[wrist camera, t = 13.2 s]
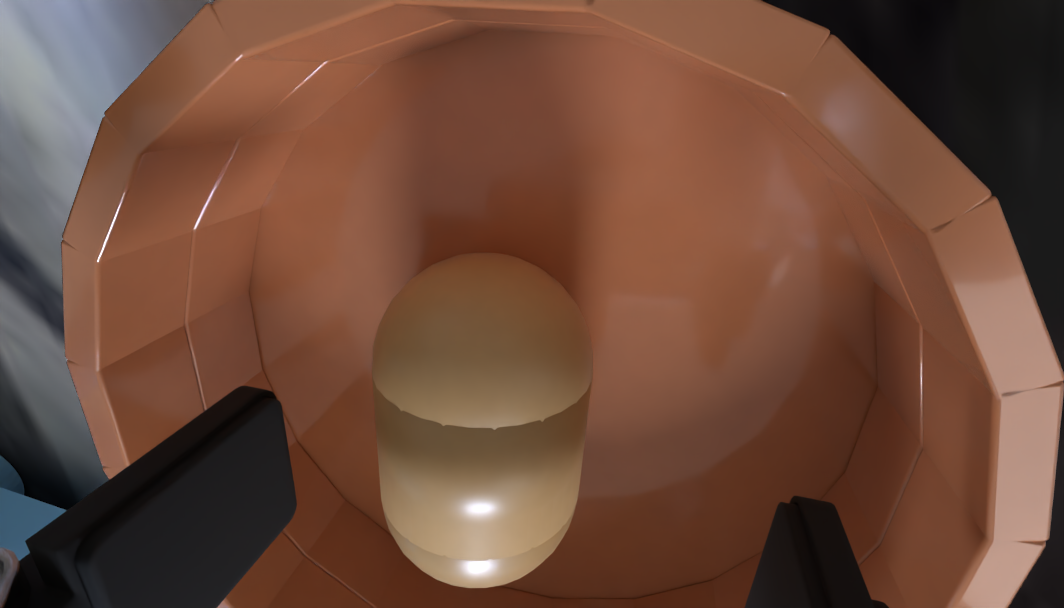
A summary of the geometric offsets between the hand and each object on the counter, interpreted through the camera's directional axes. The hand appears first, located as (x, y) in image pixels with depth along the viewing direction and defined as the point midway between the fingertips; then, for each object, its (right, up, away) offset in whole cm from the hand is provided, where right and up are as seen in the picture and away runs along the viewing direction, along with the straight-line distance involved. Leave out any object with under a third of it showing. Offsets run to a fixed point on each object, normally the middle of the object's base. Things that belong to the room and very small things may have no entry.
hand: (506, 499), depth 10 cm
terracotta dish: (+1, +2, +4) cm, 5 cm away
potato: (0, +2, +4) cm, 4 cm away
